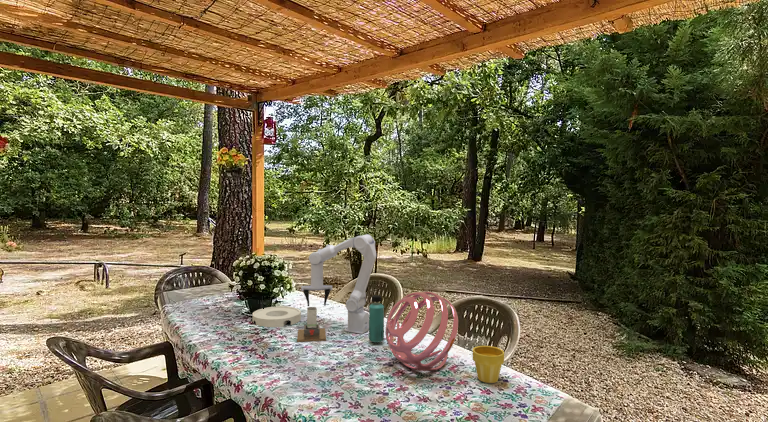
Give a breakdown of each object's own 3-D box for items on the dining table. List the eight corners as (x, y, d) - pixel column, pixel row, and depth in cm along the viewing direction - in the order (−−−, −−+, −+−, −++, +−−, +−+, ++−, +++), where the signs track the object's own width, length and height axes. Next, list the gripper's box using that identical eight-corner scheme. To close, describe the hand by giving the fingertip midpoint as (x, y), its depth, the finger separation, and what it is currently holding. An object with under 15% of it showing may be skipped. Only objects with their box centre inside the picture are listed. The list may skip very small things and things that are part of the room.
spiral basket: (452, 299, 171) (407, 266, 159) (491, 337, 146) (441, 301, 134) (410, 353, 171) (361, 324, 159) (442, 399, 146) (387, 369, 134)
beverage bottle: (382, 346, 171) (383, 298, 170) (366, 345, 172) (367, 297, 172) (385, 341, 177) (386, 294, 177) (370, 339, 179) (370, 293, 178)
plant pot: (480, 370, 149) (481, 342, 148) (508, 378, 142) (509, 350, 142) (466, 379, 141) (467, 351, 140) (495, 388, 134) (496, 358, 134)
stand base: (298, 331, 188) (298, 322, 188) (325, 330, 190) (325, 321, 190) (297, 342, 175) (297, 332, 175) (326, 340, 177) (326, 331, 177)
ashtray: (306, 315, 216) (306, 307, 216) (292, 329, 193) (292, 320, 193) (263, 313, 218) (263, 305, 218) (244, 326, 195) (244, 318, 195)
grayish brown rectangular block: (307, 325, 184) (307, 306, 184) (316, 324, 185) (316, 306, 185) (306, 328, 180) (307, 309, 180) (316, 327, 181) (316, 309, 181)
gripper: (331, 275, 203) (331, 302, 203) (301, 275, 200) (301, 303, 201) (332, 277, 196) (332, 306, 196) (301, 278, 193) (301, 307, 194)
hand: (316, 305), depth 198 cm, fingers open, 7 cm apart
